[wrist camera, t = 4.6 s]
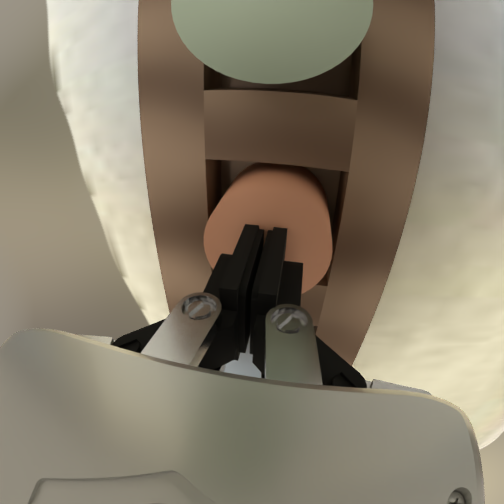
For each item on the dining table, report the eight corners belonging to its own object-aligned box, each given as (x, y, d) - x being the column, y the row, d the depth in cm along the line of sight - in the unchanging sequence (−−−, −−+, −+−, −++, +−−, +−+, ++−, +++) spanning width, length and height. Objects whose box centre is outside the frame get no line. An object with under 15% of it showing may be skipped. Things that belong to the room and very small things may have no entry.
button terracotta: (226, 155, 14) (199, 184, 11) (334, 165, 13) (342, 197, 10) (228, 245, 17) (207, 291, 14) (320, 255, 16) (321, 306, 13)
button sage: (215, -32, 7) (176, -68, 4) (351, -28, 7) (370, -69, 3) (213, 80, 10) (170, 85, 7) (348, 88, 10) (368, 95, 6)
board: (170, -41, 9) (143, -57, 6) (410, -31, 7) (430, -49, 5) (196, 347, 25) (185, 375, 22) (336, 366, 23) (336, 396, 21)
